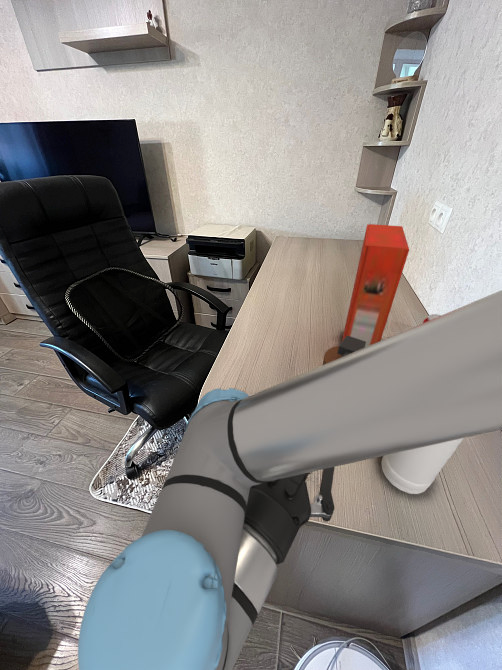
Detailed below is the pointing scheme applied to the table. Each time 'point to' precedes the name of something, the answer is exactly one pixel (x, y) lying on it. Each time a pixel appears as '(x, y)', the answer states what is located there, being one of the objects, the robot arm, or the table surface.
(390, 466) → the bottle
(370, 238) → the file binder
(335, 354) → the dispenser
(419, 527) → the table surface
